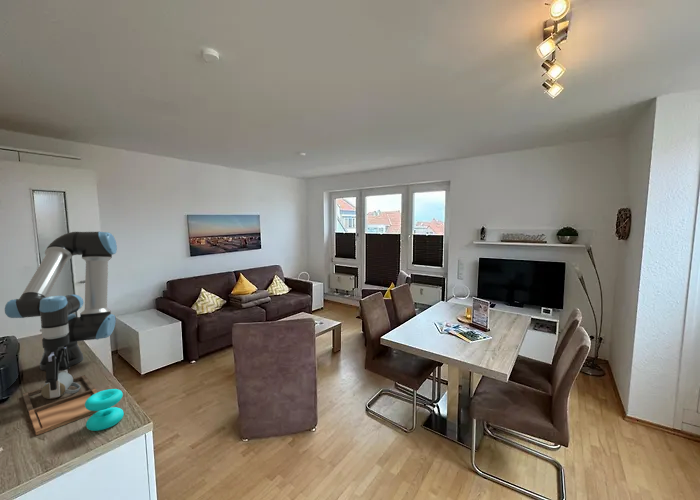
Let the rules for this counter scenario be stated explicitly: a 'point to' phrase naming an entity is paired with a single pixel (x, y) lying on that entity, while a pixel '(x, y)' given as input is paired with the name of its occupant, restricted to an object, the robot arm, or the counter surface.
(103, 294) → the robot arm
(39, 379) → the counter surface
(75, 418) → the tray
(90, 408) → the donuts
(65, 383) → the ceramic mug
